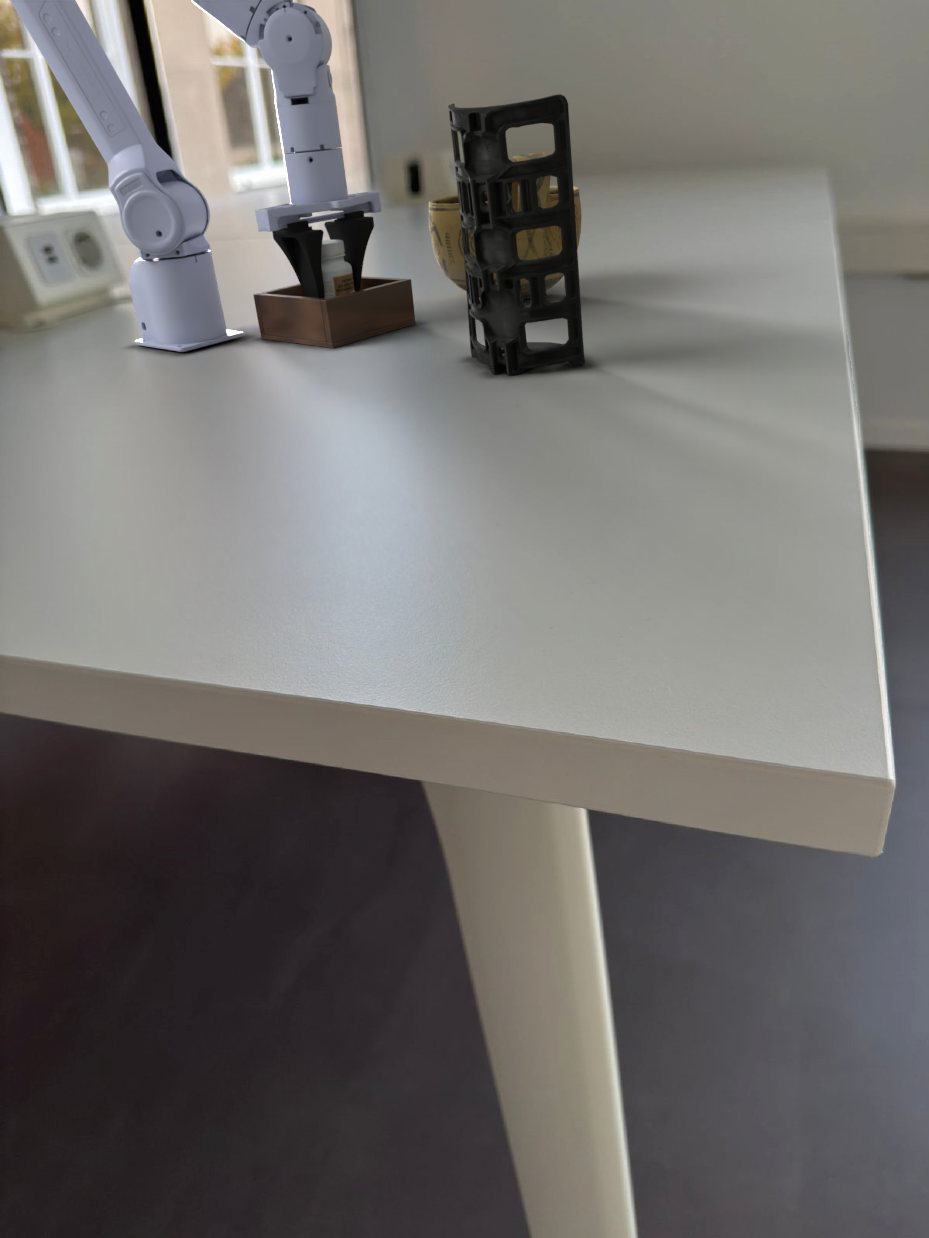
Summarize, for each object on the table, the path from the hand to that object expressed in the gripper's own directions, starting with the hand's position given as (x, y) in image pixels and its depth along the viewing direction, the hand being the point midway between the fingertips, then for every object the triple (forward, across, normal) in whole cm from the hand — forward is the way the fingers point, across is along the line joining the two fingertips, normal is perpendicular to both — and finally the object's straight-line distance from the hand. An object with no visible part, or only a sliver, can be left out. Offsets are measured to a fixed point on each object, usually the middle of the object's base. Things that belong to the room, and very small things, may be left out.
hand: (333, 297), depth 97 cm
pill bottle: (+3, 0, 0) cm, 3 cm away
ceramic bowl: (+4, +21, -6) cm, 22 cm away
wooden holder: (+3, 0, 0) cm, 3 cm away
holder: (+4, -4, -28) cm, 29 cm away
